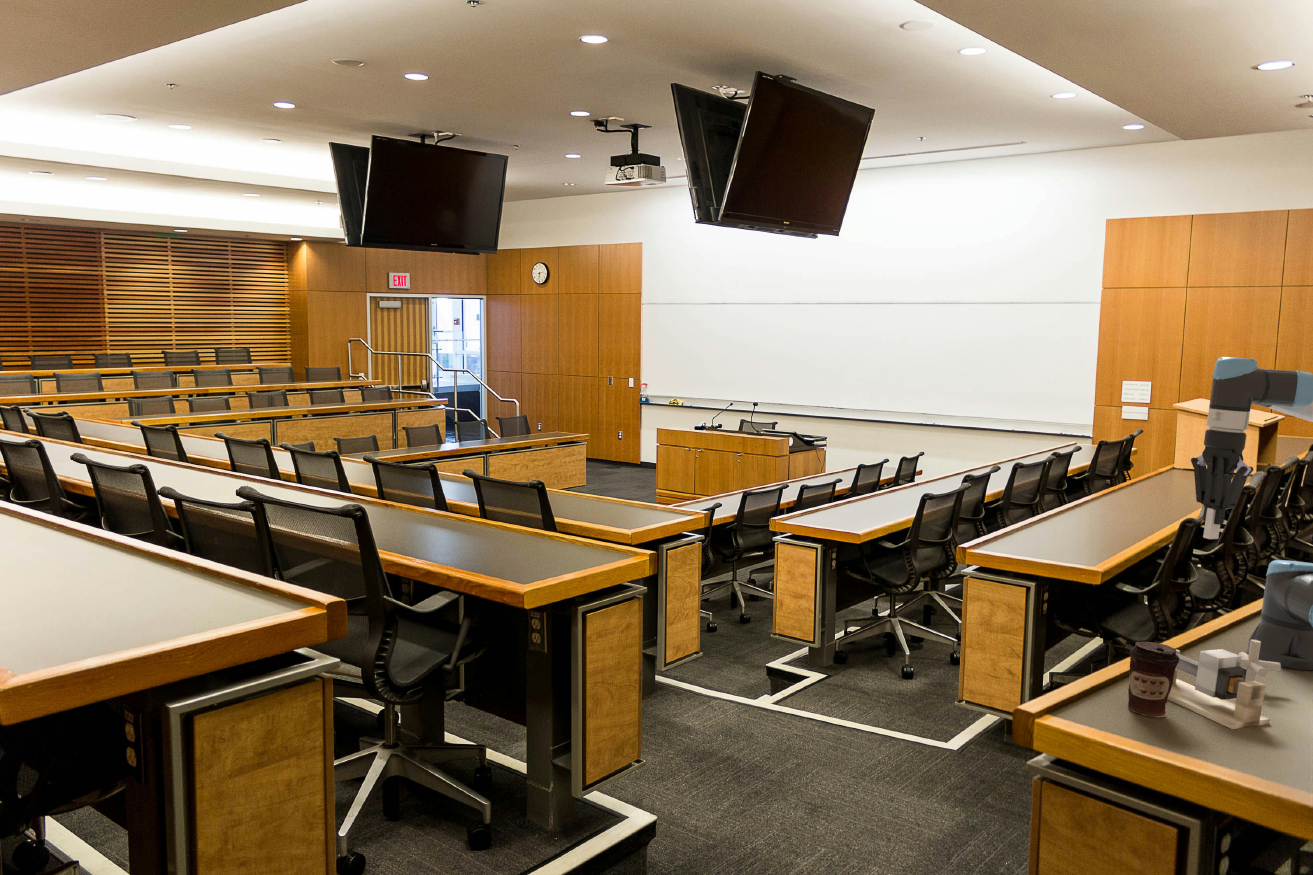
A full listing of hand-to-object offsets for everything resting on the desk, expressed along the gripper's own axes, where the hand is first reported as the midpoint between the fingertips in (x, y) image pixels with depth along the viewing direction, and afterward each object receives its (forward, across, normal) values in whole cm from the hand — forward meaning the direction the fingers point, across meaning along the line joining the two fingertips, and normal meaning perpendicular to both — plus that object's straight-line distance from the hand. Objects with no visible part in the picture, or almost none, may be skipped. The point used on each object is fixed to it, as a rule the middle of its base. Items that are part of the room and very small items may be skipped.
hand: (1210, 537), depth 200 cm
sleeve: (+26, +18, -17) cm, 36 cm away
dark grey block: (+26, +21, -17) cm, 37 cm away
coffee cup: (+30, +16, -32) cm, 46 cm away
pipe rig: (+29, +16, -17) cm, 38 cm away
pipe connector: (+30, +11, +3) cm, 32 cm away
